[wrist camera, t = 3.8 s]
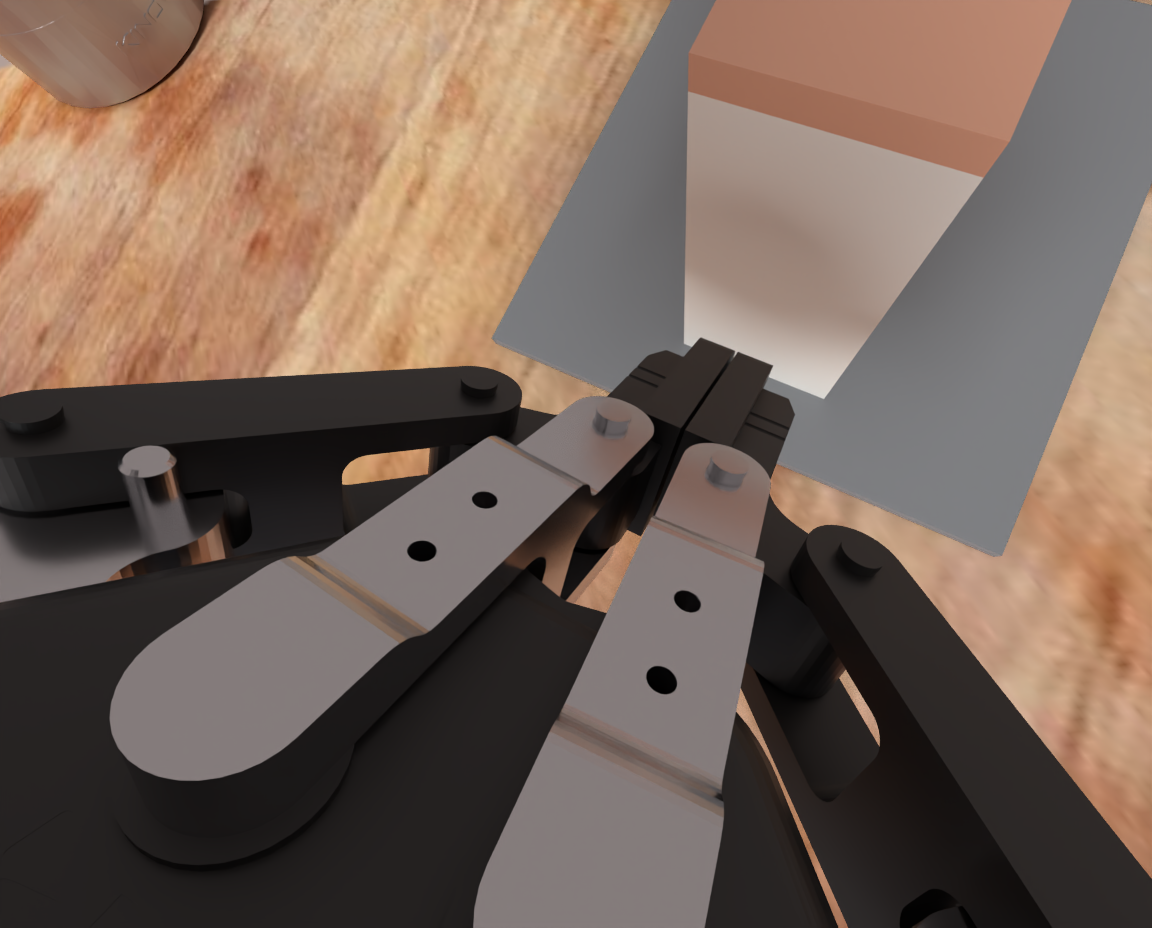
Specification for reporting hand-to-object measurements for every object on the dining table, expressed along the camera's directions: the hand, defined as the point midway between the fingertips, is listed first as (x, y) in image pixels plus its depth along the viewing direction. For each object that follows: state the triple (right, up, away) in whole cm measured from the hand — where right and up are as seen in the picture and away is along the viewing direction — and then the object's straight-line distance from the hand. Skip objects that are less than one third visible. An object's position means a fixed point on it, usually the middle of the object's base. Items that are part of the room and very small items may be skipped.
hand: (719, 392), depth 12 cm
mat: (+7, +8, +10) cm, 15 cm away
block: (+4, +4, +9) cm, 11 cm away
